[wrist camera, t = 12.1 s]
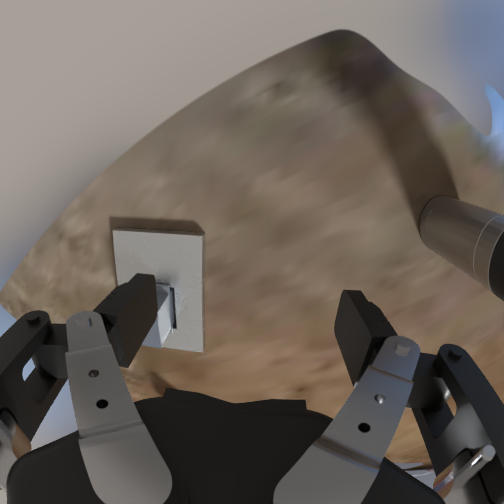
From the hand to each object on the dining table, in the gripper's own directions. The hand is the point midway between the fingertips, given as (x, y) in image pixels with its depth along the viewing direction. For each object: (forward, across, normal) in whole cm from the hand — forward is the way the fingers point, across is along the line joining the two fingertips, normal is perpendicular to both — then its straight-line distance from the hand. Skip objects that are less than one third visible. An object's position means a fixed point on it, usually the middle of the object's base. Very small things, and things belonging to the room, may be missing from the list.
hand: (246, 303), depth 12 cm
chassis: (+28, +14, +15) cm, 35 cm away
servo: (+28, +14, +17) cm, 36 cm away
